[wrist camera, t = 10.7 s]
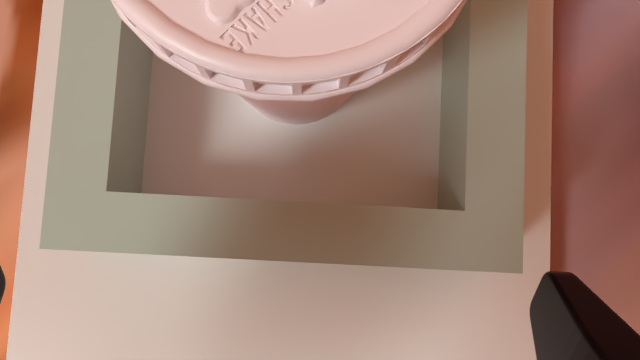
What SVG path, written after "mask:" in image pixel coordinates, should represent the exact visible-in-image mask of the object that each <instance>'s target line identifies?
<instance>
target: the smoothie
mask: <svg viewBox="0 0 640 360" xmlns="http://www.w3.org/2000/svg"><path fill="white" fill-rule="evenodd" d="M466 1H467V0H111V2H112V4H113V6H114V7H115V9H116V11H117V13H118V15H119V17H120V18H121V19H122V20H123V21H124V22H125V23H126V24H127V26H128V27H129V28H130V29H131V30H132V31H133V32H134V33H135V34H136V35H137V36H138V37H139V38H140V39H141V40H142V41H143V42H144V43H145V44H146V45H147V46H148V47H149V48H150V49H151V50H152V51H153V52H154V54H155V55H156V56H157V57H159V58H161V59H162V60H164V61H166V62H167V63H169V64H171V65H172V66H174V67H176V68H177V69H179V70H181V71H182V72H184V73H186V74H187V75H189V76H191V77H192V78H194V79H196V80H197V81H199V82H201V83H202V84H204V85H207V86H210V87H214V88H217V89H221V90H224V91H228V92H231V93H234V94H238V95H239V96H240V97H242V98H243V99H244V100H245V101H247V102H248V103H249V104H250V105H252V106H253V107H254V108H255V109H257V110H258V111H259V112H260V113H262V114H263V115H265V116H266V117H268V118H270V119H272V120H275V121H278V122H281V123H285V124H293V125H301V124H308V123H313V122H316V121H319V120H321V119H323V118H325V117H327V116H329V115H330V114H332V113H333V112H334V111H336V110H337V109H338V108H339V107H340V106H341V105H342V104H343V103H344V102H345V101H346V100H347V99H348V98H349V97H350V96H352V95H353V94H354V93H355V92H356V91H358V90H363V89H366V88H368V87H370V86H372V85H374V84H375V83H377V82H379V81H381V80H383V79H385V78H387V77H388V76H390V75H392V74H394V73H396V72H398V71H400V70H401V69H403V68H405V67H407V66H409V65H411V64H412V63H414V62H415V61H416V60H417V59H418V58H419V57H420V56H421V55H422V54H423V53H424V52H425V51H426V50H427V49H428V48H429V47H431V46H432V45H433V44H434V43H435V42H436V41H437V40H438V39H439V38H440V37H441V36H442V35H443V34H444V33H445V32H446V31H447V30H448V29H449V28H450V27H451V26H452V25H453V23H454V21H455V20H456V18H457V16H458V15H459V13H460V11H461V10H462V8H463V6H464V4H465V3H466Z"/></svg>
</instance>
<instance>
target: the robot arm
mask: <svg viewBox="0 0 640 360" xmlns="http://www.w3.org/2000/svg"><path fill="white" fill-rule="evenodd" d="M4 290H5V276H4V273H3V271H2V268H1V266H0V302H1V300H2V297H3V294H4ZM530 321H531V328H532V334H533V340H534V346H535V352H536V358H537V360H640V335H639V334H638V333H636V332H635V331H634V330H633V329H632V328H631V327H630V326H629V325H628V324H627V323H626V322H625V321H624V320H623V319H622V318H620V317H619V316H618V315H617V314H616V313H615V312H614V311H613V310H612V309H611V308H610V307H609V306H608V305H607V304H605V303H604V302H603V301H602V300H601V299H600V298H599V297H598V296H597V295H596V294H595V293H594V292H593V291H592V290H591V289H589V288H588V287H587V286H586V285H585V284H584V283H583V282H582V281H581V280H580V279H579V278H578V277H577V276H575V275H574V274H572V273H570V272H558V271H548V272H546V273H545V274H544V275H543V276H542V278H541V281H540V283H539V285H538V287H537V290H536V292H535V294H534V296H533V298H532V301H531V304H530Z"/></svg>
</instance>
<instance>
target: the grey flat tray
mask: <svg viewBox="0 0 640 360" xmlns="http://www.w3.org/2000/svg"><path fill="white" fill-rule="evenodd" d="M552 73H553V0H467V1H466V3H465V4H464V6H463V8H462V10H461V11H460V13H459V15H458V16H457V18H456V20H455V21H454V23H453V25H452V26H451V27H450V28H449V29H448V30H447V31H446V32H445V33H444V34H443V35H442V36H441V37H440V38H439V39H438V40H437V41H436V42H435V43H434V44H433V45H432V46H431V47H429V48H428V49H427V50H426V51H425V52H424V53H423V54H422V55H421V56H420V57H419V58H418V59H417V60H416V61H415V62H414V63H412V64H411V65H409V66H407V67H405V68H403V69H401V70H400V71H398V72H396V73H394V74H392V75H390V76H388V77H387V78H385V79H383V80H381V81H379V82H377V83H375V84H374V85H372V86H370V87H368V88H366V89H363V90H358V91H356V92H355V93H354V94H353V95H352V96H350V97H349V98H348V99H347V100H346V101H345V102H344V103H343V104H342V105H341V106H340V107H339V108H338V109H337V110H336V111H334V112H333V113H332V114H330V115H329V116H327V117H325V118H323V119H321V120H319V121H316V122H313V123H308V124H301V125H293V124H285V123H281V122H278V121H275V120H272V119H270V118H268V117H266V116H265V115H263V114H262V113H260V112H259V111H258V110H257V109H255V108H254V107H253V106H252V105H250V104H249V103H248V102H247V101H245V100H244V99H243V98H242V97H240V96H239V95H238V94H234V93H231V92H228V91H224V90H221V89H217V88H214V87H210V86H207V85H204V84H202V83H201V82H199V81H197V80H196V79H194V78H192V77H191V76H189V75H187V74H186V73H184V72H182V71H181V70H179V69H177V68H176V67H174V66H172V65H171V64H169V63H167V62H166V61H164V60H162V59H161V58H159V57H157V56H156V55H155V54H154V52H153V51H152V50H151V49H150V48H149V47H148V46H147V45H146V44H145V43H144V42H143V41H142V40H141V39H140V38H139V37H138V36H137V35H136V34H135V33H134V32H133V31H132V30H131V29H130V28H129V27H128V26H127V24H126V23H125V22H124V21H123V20H122V19H121V18H120V17H119V15H118V13H117V11H116V9H115V7H114V6H113V4H112V2H111V0H43V9H42V18H41V28H40V38H39V47H38V57H37V67H36V76H35V86H34V96H33V105H32V115H31V124H30V134H29V144H28V153H27V163H26V173H25V182H24V192H23V202H22V211H21V221H20V230H19V240H18V250H17V259H16V269H15V279H14V288H13V298H12V308H11V317H10V327H9V336H8V346H7V356H6V360H537V358H536V352H535V346H534V340H533V334H532V328H531V321H530V304H531V301H532V298H533V296H534V294H535V292H536V290H537V287H538V285H539V283H540V281H541V278H542V276H543V275H544V274H545V273H546V272H548V271H550V231H551V152H552Z"/></svg>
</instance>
